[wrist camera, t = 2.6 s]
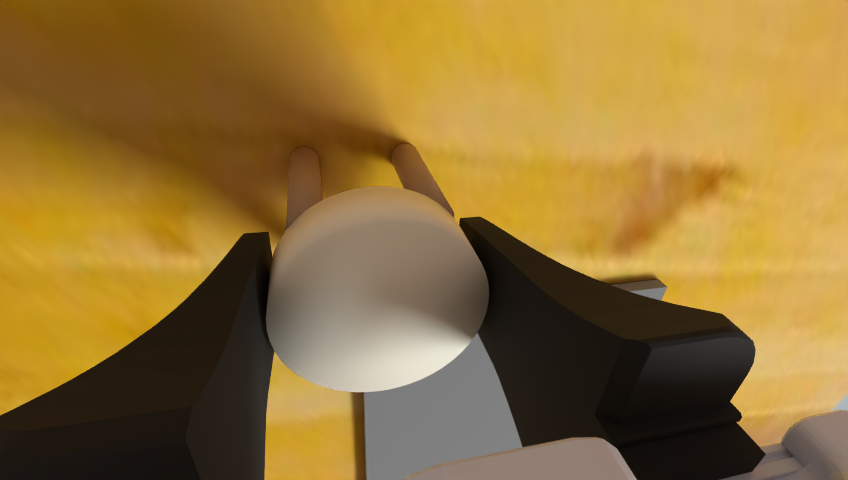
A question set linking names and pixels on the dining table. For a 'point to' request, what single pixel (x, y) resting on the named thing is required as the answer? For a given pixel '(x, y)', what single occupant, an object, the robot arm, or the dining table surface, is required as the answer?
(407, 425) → the mat
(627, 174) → the dining table surface
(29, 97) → the dining table surface
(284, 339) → the stool
